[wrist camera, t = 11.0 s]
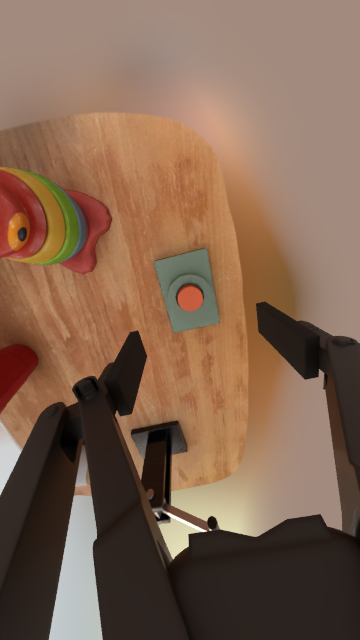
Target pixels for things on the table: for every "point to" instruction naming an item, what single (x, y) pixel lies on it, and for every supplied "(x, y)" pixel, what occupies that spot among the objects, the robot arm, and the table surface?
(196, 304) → the button
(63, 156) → the table surface
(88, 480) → the ceramic mug
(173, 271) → the control block
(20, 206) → the stacking bear
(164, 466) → the bracket
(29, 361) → the plastic cup
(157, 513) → the lever
